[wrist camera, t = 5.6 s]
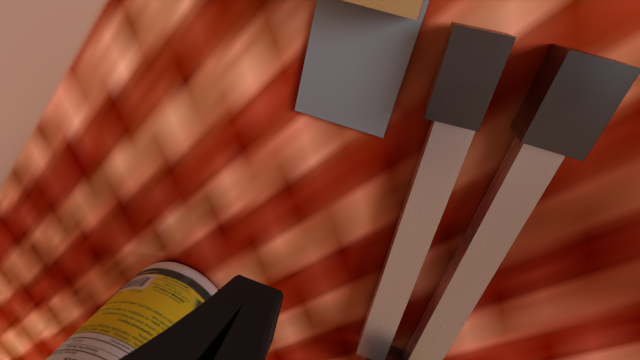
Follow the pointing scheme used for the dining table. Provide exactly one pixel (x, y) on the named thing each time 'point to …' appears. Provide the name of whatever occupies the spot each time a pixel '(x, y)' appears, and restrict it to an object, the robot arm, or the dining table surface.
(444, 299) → the dark-tipped long bar
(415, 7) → the block
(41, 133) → the dining table surface
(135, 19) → the dining table surface
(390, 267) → the tong arm
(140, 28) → the dining table surface
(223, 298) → the robot arm
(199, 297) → the pill bottle
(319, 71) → the plate
